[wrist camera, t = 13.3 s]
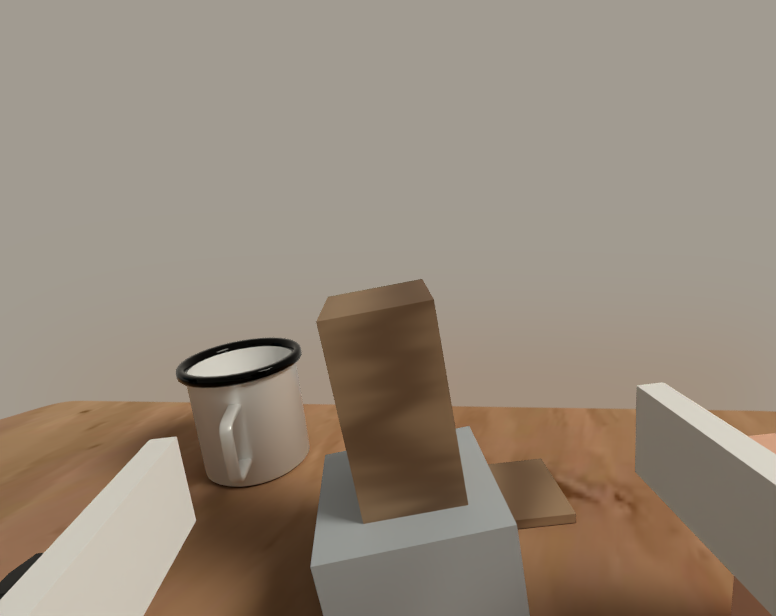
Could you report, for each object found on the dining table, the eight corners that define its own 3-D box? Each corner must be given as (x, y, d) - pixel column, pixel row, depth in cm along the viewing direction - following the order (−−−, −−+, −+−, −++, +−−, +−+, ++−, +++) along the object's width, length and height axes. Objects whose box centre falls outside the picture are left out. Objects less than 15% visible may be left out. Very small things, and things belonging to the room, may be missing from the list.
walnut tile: (475, 533, 28) (474, 524, 28) (458, 475, 34) (457, 467, 33) (576, 522, 28) (576, 513, 28) (541, 466, 34) (541, 458, 33)
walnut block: (363, 524, 22) (316, 321, 20) (365, 464, 27) (328, 296, 25) (468, 505, 22) (433, 299, 20) (451, 448, 27) (422, 279, 24)
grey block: (334, 658, 21) (310, 566, 20) (342, 524, 30) (325, 455, 29) (530, 618, 21) (516, 524, 20) (480, 496, 30) (469, 426, 29)
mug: (216, 439, 43) (196, 345, 41) (319, 424, 44) (304, 331, 42) (170, 527, 31) (139, 402, 29) (311, 505, 32) (291, 382, 30)
